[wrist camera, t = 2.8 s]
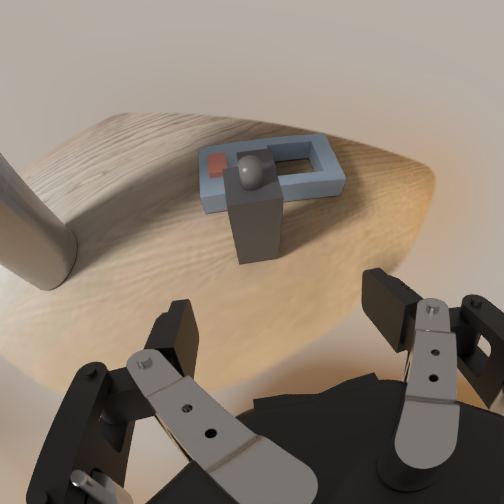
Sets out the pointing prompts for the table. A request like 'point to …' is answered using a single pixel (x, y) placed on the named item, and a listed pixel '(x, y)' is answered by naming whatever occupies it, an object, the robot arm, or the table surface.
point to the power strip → (270, 150)
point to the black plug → (254, 208)
